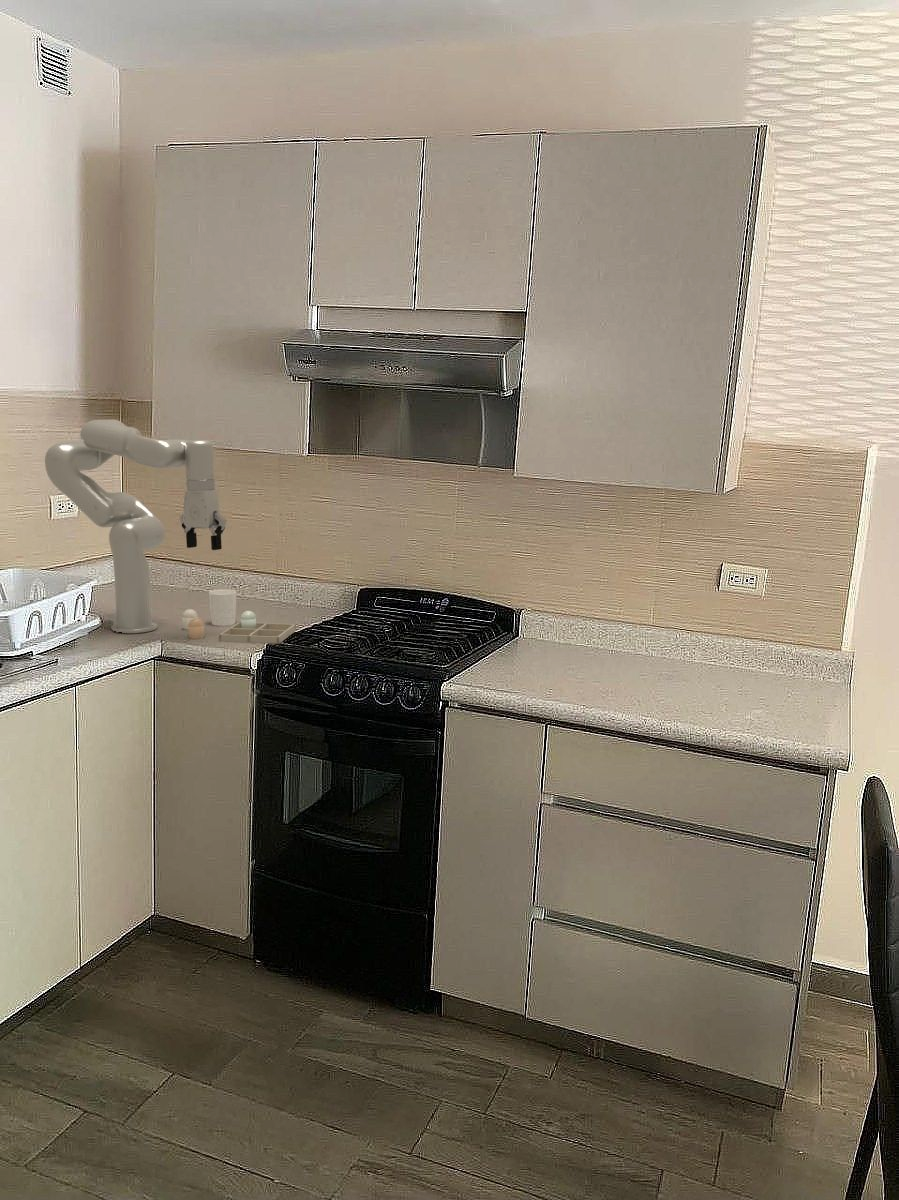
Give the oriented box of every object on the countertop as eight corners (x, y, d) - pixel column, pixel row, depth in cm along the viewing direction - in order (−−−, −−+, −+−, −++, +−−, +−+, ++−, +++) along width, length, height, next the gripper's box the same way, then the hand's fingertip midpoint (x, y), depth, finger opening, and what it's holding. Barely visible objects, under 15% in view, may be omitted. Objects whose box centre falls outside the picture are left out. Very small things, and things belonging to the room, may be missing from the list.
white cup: (222, 629, 304) (221, 595, 302) (204, 625, 309) (202, 592, 307) (242, 625, 310) (241, 591, 308) (224, 621, 315) (223, 588, 313)
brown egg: (186, 640, 289) (185, 619, 288) (192, 637, 293) (191, 616, 292) (201, 641, 289) (200, 619, 288) (206, 638, 293) (206, 616, 292)
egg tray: (219, 643, 287) (218, 634, 286) (239, 630, 303) (238, 621, 303) (279, 645, 285) (278, 637, 284) (295, 632, 301) (295, 624, 301)
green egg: (239, 633, 297) (238, 612, 295) (244, 630, 301) (243, 609, 300) (253, 633, 296) (253, 612, 295) (258, 630, 300) (257, 609, 299)
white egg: (180, 631, 301) (179, 610, 300) (186, 628, 305) (185, 607, 304) (194, 632, 300) (194, 611, 299) (200, 628, 304) (199, 608, 303)
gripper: (168, 486, 289) (172, 548, 292) (212, 488, 279) (216, 552, 282) (189, 484, 295) (192, 545, 298) (233, 486, 285) (236, 549, 288)
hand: (204, 548), depth 290 cm, fingers open, 9 cm apart
